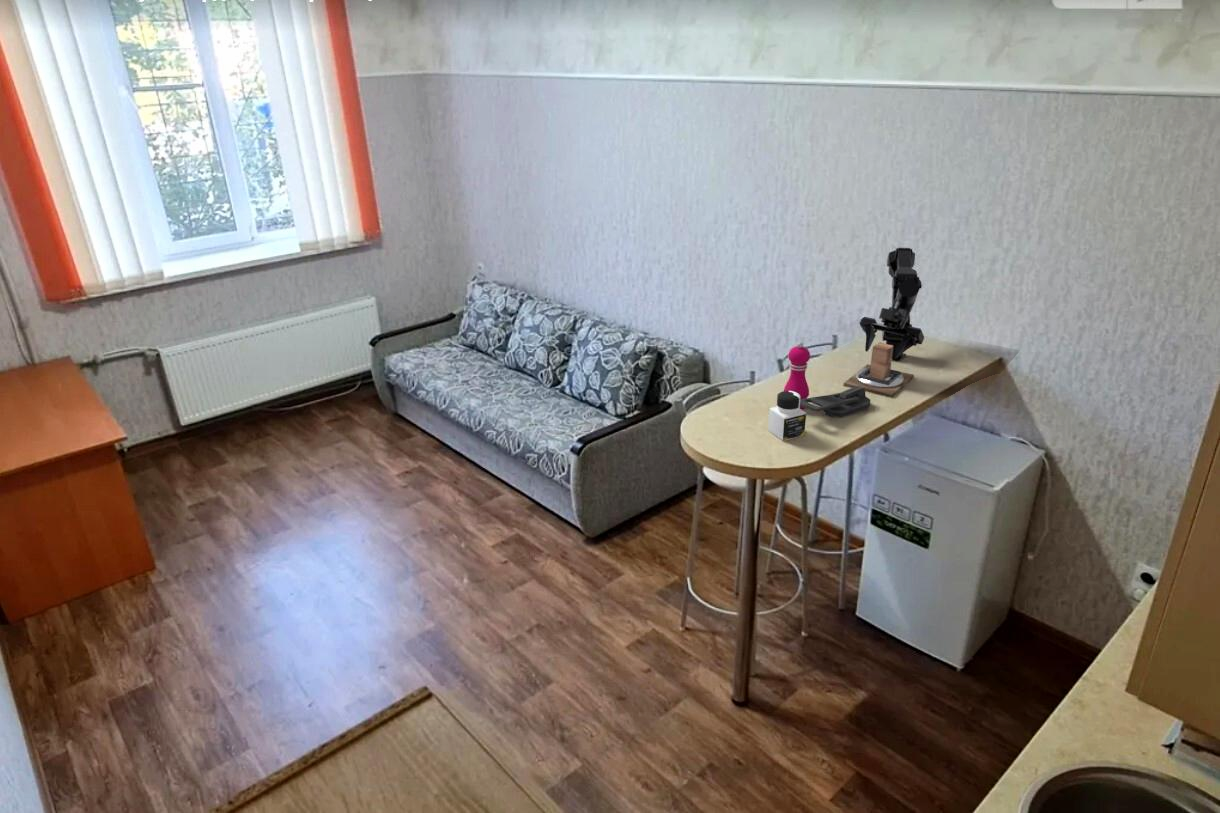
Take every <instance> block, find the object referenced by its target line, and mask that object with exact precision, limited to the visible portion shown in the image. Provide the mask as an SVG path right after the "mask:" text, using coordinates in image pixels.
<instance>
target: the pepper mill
mask: <svg viewBox="0 0 1220 813" xmlns="http://www.w3.org/2000/svg"><path fill="white" fill-rule="evenodd" d="M787 356H788V357H787V358H788V360H789V367H788V368H789V369H790V374H789V378H788V379H787V382H786V383H785V386H784V388H783V391H793V392H796V393H798V394H799V395H800V399H805V398H809V395H810V388H809V385H808V381H807V378H806V370H807V369H808V362H809V361H810V358H811V354H810V350H809V349H808V348H806V347H805V346H804V343H803V342H802V341H798V342H797V343H796V346H794V347H792V348H791V349H790V350H789V351H788V355H787ZM800 409H801V410H804V409H805V408H804V407H802V406H800Z"/></svg>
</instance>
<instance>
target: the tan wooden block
mask: <svg viewBox="0 0 1220 813" xmlns="http://www.w3.org/2000/svg"><path fill="white" fill-rule="evenodd" d="M871 350H872V351H871V360H870V365H871V366H870V375H869V377H874V378H878V379H882V380H885V379H886V378H887V377H889V376H890V369H891V367H892V361H893V360H892V353H893V345H888V344H886V343H883V342H877V343H876V344H875V345H873V346H872V349H871Z"/></svg>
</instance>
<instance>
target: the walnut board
mask: <svg viewBox="0 0 1220 813" xmlns="http://www.w3.org/2000/svg"><path fill="white" fill-rule="evenodd" d="M870 365H871V364H866V365H865V366H864V367H862V368H861V369H865V368H868V367H869V366H870ZM898 371H899V372H901V375H902V376H903V383H902V384H901V385H899V386H897V387H893V388H876V387H870V386H867V385H864V384H862V383H860V382H859V381H857V379H856V373H855V374H853V375H852V376H850V377H849V379H847V380H845V382H843V387H846V388H847V387H848V388H849V389H850V388H853V387H856V386H860V387H862V388H864V389H865V393H866V392H867V393H871V394H875V395H878V396H879V395H880V396H883V397H887V398H893V397H894V396H895V395H896V394H897V393H898V392H899V391H900V390H902V389H903V388H904V387H905V386H906V385H907V384H909V382H910V381H912V380H913V379H914V377H915V375H914V374H913V373H908V372H905V371H904V372H903V371H900V370H898Z"/></svg>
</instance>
